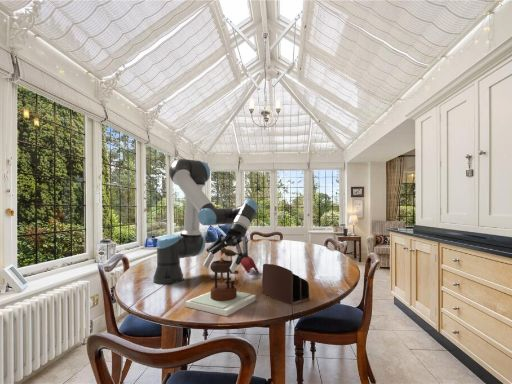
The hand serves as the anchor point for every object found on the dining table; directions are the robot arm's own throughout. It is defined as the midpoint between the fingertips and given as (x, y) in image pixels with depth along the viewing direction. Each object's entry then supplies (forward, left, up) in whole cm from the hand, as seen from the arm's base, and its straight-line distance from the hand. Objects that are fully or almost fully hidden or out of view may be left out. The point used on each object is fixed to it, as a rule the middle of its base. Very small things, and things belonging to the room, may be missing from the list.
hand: (217, 268), depth 118 cm
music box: (0, +3, -12) cm, 12 cm away
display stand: (0, +2, -14) cm, 14 cm away
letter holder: (+18, +23, -15) cm, 33 cm away
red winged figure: (-19, +51, -14) cm, 57 cm away
